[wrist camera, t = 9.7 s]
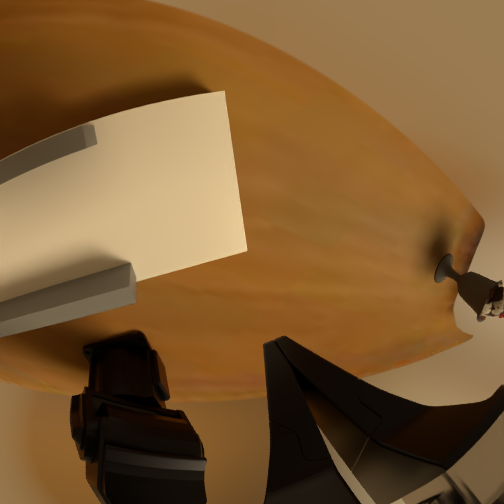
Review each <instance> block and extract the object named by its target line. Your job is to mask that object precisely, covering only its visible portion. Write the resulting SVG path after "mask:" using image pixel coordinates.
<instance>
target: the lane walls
mask: <svg viewBox="0 0 504 504" xmlns="http://www.w3.org/2000/svg"><path fill="white" fill-rule="evenodd" d="M97 144H98V143H97V138H96V133H95V128H94V125H82V126H79V127H76V128H74V129H71V130H68V131H66V132H63V133H61V134H58V135H56V136H53V137H51V138H48V139H46V140H44V141H41V142H39V143H37V144H35V145H32V146H30V147H28V148H26V149H24V150H22V151H20V152H18V153H16V154H14V155H12V156H10V157H8V158H6V159H4V160H2V161H0V185H1V184H3V183H5V182H7V181H9V180H11V179H13V178H15V177H17V176H19V175H21V174H24V173H26V172H28V171H30V170H32V169H35V168H37V167H39V166H42V165H44V164H46V163H49V162H51V161H54V160H56V159H59V158H61V157H64V156H67V155H69V154H72V153H75V152H77V151H80V150H83V149H86V148H89V147H91V146H94V145H97ZM133 303H136V275H135V272H134V269H133V267H132V264H131V263H128V264H124V265H121V266H117V267H114V268H110V269H107V270H103V271H100V272H97V273H93V274H90V275H86V276H83V277H80V278H76V279H73V280H70V281H66V282H63V283H60V284H56V285H53V286H50V287H47V288H43V289H40V290H37V291H34V292H31V293H27V294H24V295H21V296H18V297H15V298H12V299H8V300H5V301H2V302H1V303H0V338H1V337H5V336H9V335H13V334H17V333H21V332H26V331H30V330H34V329H38V328H42V327H46V326H50V325H53V324H57V323H61V322H65V321H69V320H73V319H77V318H81V317H84V316H88V315H92V314H96V313H100V312H103V311H107V310H111V309H115V308H118V307H122V306H126V305H130V304H133Z"/></svg>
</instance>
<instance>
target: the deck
mask: <svg viewBox="0 0 504 504" xmlns="http://www.w3.org/2000/svg"><path fill="white" fill-rule="evenodd" d="M82 125H94V128H95V133H96V138H97V143H98V144H97V145H94V146H91V147H89V148H86V149H83V150H80V151H77V152H75V153H72V154H69V155H67V156H64V157H61V158H59V159H56V160H54V161H51V162H49V163H46V164H44V165H42V166H39V167H37V168H35V169H32V170H30V171H28V172H26V173H24V174H21V175H19V176H17V177H15V178H13V179H11V180H9V181H7V182H5V183H3V184H1V185H0V303H1V302H2V301H5V300H8V299H12V298H15V297H18V296H21V295H24V294H27V293H31V292H34V291H37V290H40V289H43V288H47V287H50V286H53V285H56V284H60V283H63V282H66V281H70V280H73V279H76V278H80V277H83V276H86V275H90V274H93V273H97V272H100V271H103V270H107V269H110V268H114V267H117V266H121V265H124V264H128V263H131V264H132V267H133V269H134V272H135V275H136V282H137V281H140V280H144V279H148V278H151V277H155V276H158V275H162V274H166V273H169V272H173V271H176V270H180V269H184V268H187V267H191V266H194V265H198V264H202V263H205V262H209V261H212V260H216V259H220V258H223V257H227V256H230V255H234V254H238V253H241V252H245V251H247V245H246V238H245V231H244V225H243V218H242V211H241V204H240V197H239V190H238V183H237V176H236V169H235V162H234V155H233V148H232V141H231V134H230V127H229V120H228V113H227V106H226V99H225V91H220V92H213V93H206V94H199V95H193V96H188V97H182V98H177V99H172V100H167V101H162V102H158V103H154V104H149V105H145V106H141V107H137V108H133V109H130V110H126V111H122V112H119V113H115V114H112V115H109V116H105V117H102V118H99V119H96V120H93V121H90V122H87V123H84V124H81V125H79V126H82ZM79 126H76V127H79ZM76 127H73V128H70V129H68V130H71V129H74V128H76ZM68 130H65V131H63V132H66V131H68ZM63 132H60V133H57V134H55V135H53V136H56V135H58V134H61V133H63ZM53 136H50V137H48V138H51V137H53ZM48 138H45V139H43V140H41V141H44V140H46V139H48ZM41 141H39V142H41ZM39 142H36V143H34V144H32V145H35V144H37V143H39ZM32 145H30V146H32ZM30 146H28V147H30ZM28 147H25V148H23V149H21V150H19V151H17V152H15V153H13V154H11V155H9V156H7V157H5V158H3V159H2V160H4V159H6V158H8V157H10V156H12V155H14V154H16V153H18V152H20V151H22V150H24V149H26V148H28ZM2 160H0V161H2Z"/></svg>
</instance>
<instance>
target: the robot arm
mask: <svg viewBox="0 0 504 504" xmlns="http://www.w3.org/2000/svg"><path fill="white" fill-rule="evenodd" d="M139 338H142V339H139ZM263 350H264V362H265V375H266V387H267V400H268V412H269V421H270V422H269V427H270V458H269V468H268V479H267V488H266V495H265V501H264V504H361V503H360V501H359V500H358V499H357V497H356V496H355V495H354V493H353V492H352V491H351V489H350V488H349V486H348V485H347V483H346V482H345V480H344V479H343V477H342V476H341V475H340V473H339V472H338V470H337V468H336V466H335V464H334V462H333V460H332V459H331V455H330V453H329V451H328V449H327V446H326V444H325V442H324V440H323V437H322V435H321V433H320V431H319V428H320V429H321V430H322V432H323V433H324V435H325V436H326V438H327V439H328V440H329V442H330V443H331V445H332V446H333V447H334V449H335V450H336V451H337V453H338V454H339V455H340V457H341V458H342V459H343V461H344V462H345V464H346V465H347V466H348V468H349V469H350V470H351V471H352V473H353V474H354V476H355V477H356V478H357V480H358V481H359V482H360V484H361V485H362V486H363V488H364V489H365V490H366V492H367V493H368V494H369V495H370V497H371V498H372V499H373V501H374V502H375V503H376V504H390V503H393V502H394V501H396V500H398V499H400V498H402V499H403V501H404V502H405V504H504V385H501V386H500V387H499V388H498V389H497V390H496V392H495V393H494V394H493V395H492V396H491V397H490V398H488V399H487V400H484V401H481V402H476V403H468V404H460V405H450V406H426V405H422V404H418V403H416V402H413V401H410V400H407V399H404V398H402V397H399V396H396V395H393V394H391V393H388V392H386V391H383V390H381V389H379V388H377V387H375V386H373V385H371V384H368V383H367V382H365V381H363V380H361V379H359V380H358V378H357V377H356V376H354V375H352V374H350V373H348V372H347V371H345V370H343V369H341V368H340V367H338V366H336V365H334V364H332V363H331V362H329V361H327V360H325V359H324V358H322V357H320V356H319V355H317V354H315V353H313V352H312V351H310V350H308V349H307V348H305V347H303V346H302V345H300V344H298V343H296V342H295V341H293V340H291V339H290V338H288V337H287V336H281V337H279V338H276V339H275V340H271V341H269V342H266V343H264V344H263ZM83 354H84V355H85V357H86V358H87V360H88V361H89V363H90V371H89V383H88V387H86V386H85V387H84V390H83V393H81V394H79V395H75V396H72V398H71V407H70V426H71V435H72V438H73V440H74V441H75V443H76V447H77V450H78V454H79V457H80V459H81V460H83V461H86V479H87V482H88V483H89V485H90V487H91V488H92V490H93V492H94V493H95V495H96V496H97V498H98V500H99V501H100V502H101V504H206V502H207V498H206V492H205V485H204V471H205V466H206V461H207V460H206V458H205V457H204V448H203V444H202V442H201V440H200V437H199V436H198V434H197V433H196V432H195V430H194V428H193V427H192V425H191V424H190V422H189V420H188V419H187V417H186V415H185V413H184V412H183V411H181V410H170V409H166V405H165V401H166V400H169V398H170V394H169V388H168V383H167V377H166V371H165V366H164V364H163V363H162V361H161V359H160V357H159V355H158V353H157V351H156V350H152V348H151V346H150V344H149V342H148V340H147V338H146V336H145V335H144V334H143V333H136V334H132V335H128V336H124V337H120V338H116V339H112V340H108V341H103V342H99V343H95V344H91V345H87V346H84V347H83ZM316 423H317V424H316ZM317 425H318V426H319V428H318V426H317Z"/></svg>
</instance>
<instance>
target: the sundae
mask: <svg viewBox="0 0 504 504" xmlns="http://www.w3.org/2000/svg"><path fill="white" fill-rule="evenodd" d="M452 265H453V256H452V255H451V254H449V255H446V256H445V257H444V258H443V259H442V260H441V262H440V263H439V265H438V267H437V270H436V273H435V281H436V282H437V283H440V282H442V281H443V280H445V278H446V277H450V278H452V279H454V280H455V281H456V282H457V284H458V292H459V295H460V296H461V297H462V298H463V300H464V301H465V302H466V303H467V304H468V305H469V306H471V308H472V309H473V310H474V311H475V312H476V313H477V320H478V321H479V322H482V321H483V320H485V318H486V317H488V318H493V317H496V316H499V318H502V317H504V287H503V286H502V280H501V281H499V282H495V281H493V280H490V279H488V278H486V277H484V276H482V275H480V274H477V273H474V272H468V273H465V274H463V275H460V274H458V273H457V272H455V271H454V270H453V268H452Z"/></svg>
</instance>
